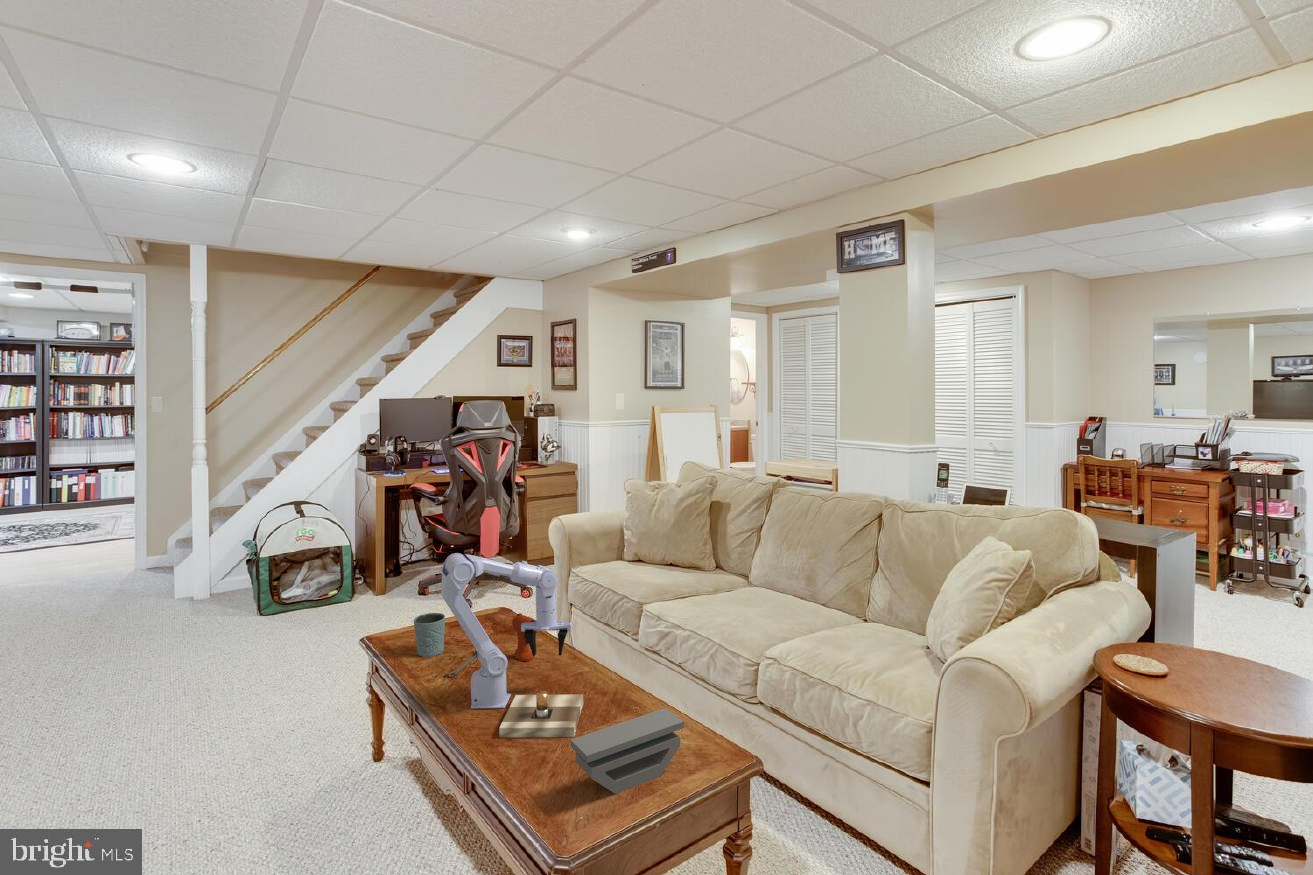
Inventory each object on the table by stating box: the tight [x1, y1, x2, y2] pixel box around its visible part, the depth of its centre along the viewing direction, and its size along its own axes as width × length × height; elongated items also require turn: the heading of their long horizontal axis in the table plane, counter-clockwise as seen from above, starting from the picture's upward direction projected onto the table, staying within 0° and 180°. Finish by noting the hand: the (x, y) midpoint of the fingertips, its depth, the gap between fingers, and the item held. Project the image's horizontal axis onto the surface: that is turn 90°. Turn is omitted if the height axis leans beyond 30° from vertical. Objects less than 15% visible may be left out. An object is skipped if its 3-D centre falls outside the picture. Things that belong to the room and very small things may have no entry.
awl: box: [535, 690, 549, 719], centre depth 174 cm, size 3×3×8 cm
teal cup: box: [413, 612, 446, 658], centre depth 222 cm, size 10×10×12 cm
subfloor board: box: [498, 693, 585, 738], centre depth 176 cm, size 19×18×2 cm
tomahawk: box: [443, 649, 478, 680], centre depth 212 cm, size 21×7×1 cm, turn 167°
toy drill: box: [511, 612, 537, 662], centre depth 213 cm, size 5×19×15 cm, turn 46°
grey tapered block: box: [570, 708, 685, 795], centre depth 149 cm, size 25×8×11 cm, turn 123°
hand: (547, 654), depth 193 cm, fingers open, 7 cm apart
